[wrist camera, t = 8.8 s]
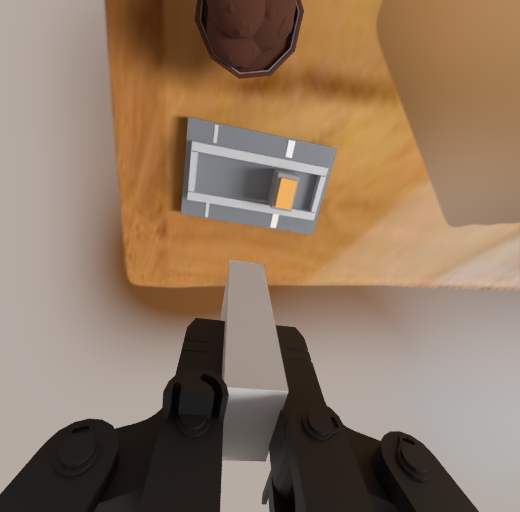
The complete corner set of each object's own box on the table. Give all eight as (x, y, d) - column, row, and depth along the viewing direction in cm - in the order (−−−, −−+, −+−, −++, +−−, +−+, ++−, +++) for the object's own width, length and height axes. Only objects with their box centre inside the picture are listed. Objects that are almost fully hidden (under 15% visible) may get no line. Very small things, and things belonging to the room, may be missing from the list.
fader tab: (274, 168, 41) (279, 173, 36) (292, 171, 42) (301, 177, 37) (267, 200, 43) (271, 210, 38) (285, 203, 44) (292, 213, 39)
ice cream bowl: (228, 104, 39) (225, 90, 26) (190, 11, 34) (160, -66, 21) (297, 70, 38) (331, 38, 24) (267, -30, 33) (288, -139, 20)
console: (190, 117, 39) (186, 116, 36) (332, 147, 43) (340, 149, 40) (183, 210, 45) (179, 216, 42) (309, 230, 48) (314, 238, 45)
